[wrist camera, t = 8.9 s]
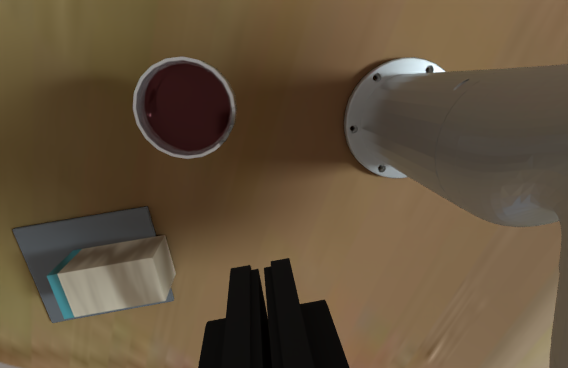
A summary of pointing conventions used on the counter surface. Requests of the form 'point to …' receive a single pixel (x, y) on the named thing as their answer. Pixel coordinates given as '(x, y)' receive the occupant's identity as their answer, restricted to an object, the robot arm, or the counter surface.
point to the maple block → (113, 277)
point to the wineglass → (184, 107)
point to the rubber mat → (78, 246)
